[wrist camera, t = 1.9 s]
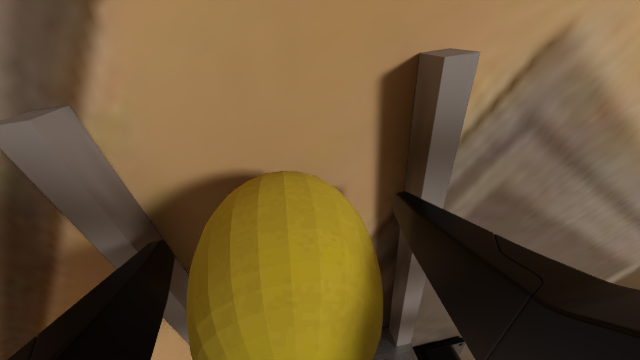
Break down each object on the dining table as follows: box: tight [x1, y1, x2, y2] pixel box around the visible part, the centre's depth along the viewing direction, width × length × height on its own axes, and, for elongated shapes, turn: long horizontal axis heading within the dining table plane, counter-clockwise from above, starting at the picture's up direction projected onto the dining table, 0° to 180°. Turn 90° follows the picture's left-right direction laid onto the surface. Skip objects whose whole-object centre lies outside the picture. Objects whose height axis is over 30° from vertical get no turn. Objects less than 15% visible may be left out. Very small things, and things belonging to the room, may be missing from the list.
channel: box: [0, 48, 480, 360], centre depth 13 cm, size 23×14×3 cm, turn 6°
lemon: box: [186, 171, 383, 360], centre depth 8 cm, size 6×6×8 cm
